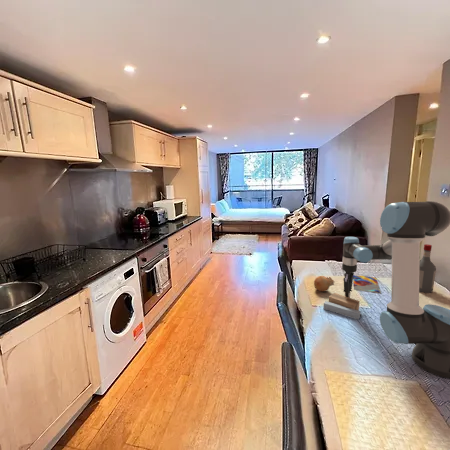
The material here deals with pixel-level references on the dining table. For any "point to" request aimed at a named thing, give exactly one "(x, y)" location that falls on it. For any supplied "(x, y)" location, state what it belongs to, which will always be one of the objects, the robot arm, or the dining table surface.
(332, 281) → the wooden fragment
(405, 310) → the robot arm
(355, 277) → the relief map
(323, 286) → the onion
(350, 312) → the grey rectangular bar
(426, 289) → the liquor
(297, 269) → the dining table surface
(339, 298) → the block
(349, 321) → the dining table surface
